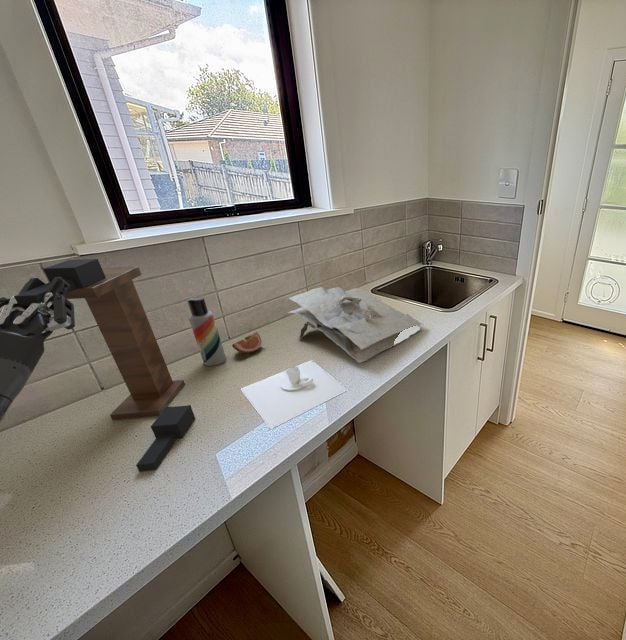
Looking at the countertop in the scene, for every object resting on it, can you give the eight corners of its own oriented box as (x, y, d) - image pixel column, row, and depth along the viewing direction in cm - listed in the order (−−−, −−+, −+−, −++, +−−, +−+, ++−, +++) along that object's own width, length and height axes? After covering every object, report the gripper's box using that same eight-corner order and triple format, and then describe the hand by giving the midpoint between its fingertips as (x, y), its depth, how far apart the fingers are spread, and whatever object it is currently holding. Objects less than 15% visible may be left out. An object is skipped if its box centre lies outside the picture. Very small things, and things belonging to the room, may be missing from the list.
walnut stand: (157, 418, 77) (98, 287, 63) (109, 423, 75) (37, 290, 61) (187, 382, 89) (143, 266, 75) (146, 385, 88) (93, 267, 74)
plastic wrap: (430, 310, 114) (363, 337, 89) (420, 349, 121) (356, 384, 96) (358, 273, 129) (285, 288, 105) (354, 310, 137) (284, 331, 112)
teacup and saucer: (318, 383, 89) (316, 371, 87) (289, 397, 84) (286, 383, 82) (303, 370, 94) (300, 357, 93) (275, 382, 89) (272, 369, 88)
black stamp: (47, 305, 55) (35, 282, 54) (12, 306, 55) (-2, 283, 53) (106, 278, 68) (97, 258, 66) (78, 279, 67) (69, 259, 65)
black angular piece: (162, 469, 64) (154, 454, 63) (133, 472, 64) (125, 457, 62) (195, 418, 77) (190, 405, 75) (171, 420, 76) (166, 407, 74)
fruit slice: (243, 360, 99) (239, 346, 97) (229, 355, 101) (224, 340, 99) (267, 347, 105) (264, 333, 103) (253, 342, 108) (249, 329, 106)
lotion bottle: (199, 364, 97) (177, 301, 88) (214, 354, 102) (195, 293, 93) (215, 367, 95) (194, 303, 87) (230, 357, 100) (212, 295, 92)
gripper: (25, 353, 47) (79, 264, 57) (-94, 361, 45) (-18, 267, 55) (68, 375, 53) (110, 291, 63) (-36, 383, 51) (24, 295, 61)
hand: (50, 280), depth 59 cm, fingers closed on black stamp, 3 cm apart
